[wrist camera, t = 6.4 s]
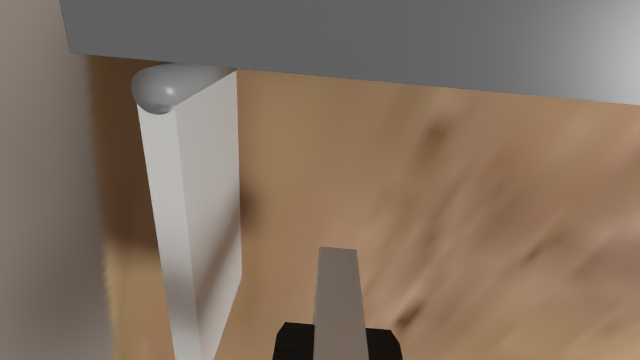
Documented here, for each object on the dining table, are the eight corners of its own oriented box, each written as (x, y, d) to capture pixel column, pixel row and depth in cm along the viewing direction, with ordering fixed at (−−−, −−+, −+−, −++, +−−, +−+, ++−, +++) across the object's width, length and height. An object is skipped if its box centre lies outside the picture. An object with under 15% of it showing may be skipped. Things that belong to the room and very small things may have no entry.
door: (215, 274, 20) (167, 384, 14) (200, 44, 15) (111, 64, 9) (243, 276, 20) (206, 387, 14) (237, 47, 15) (174, 70, 9)
